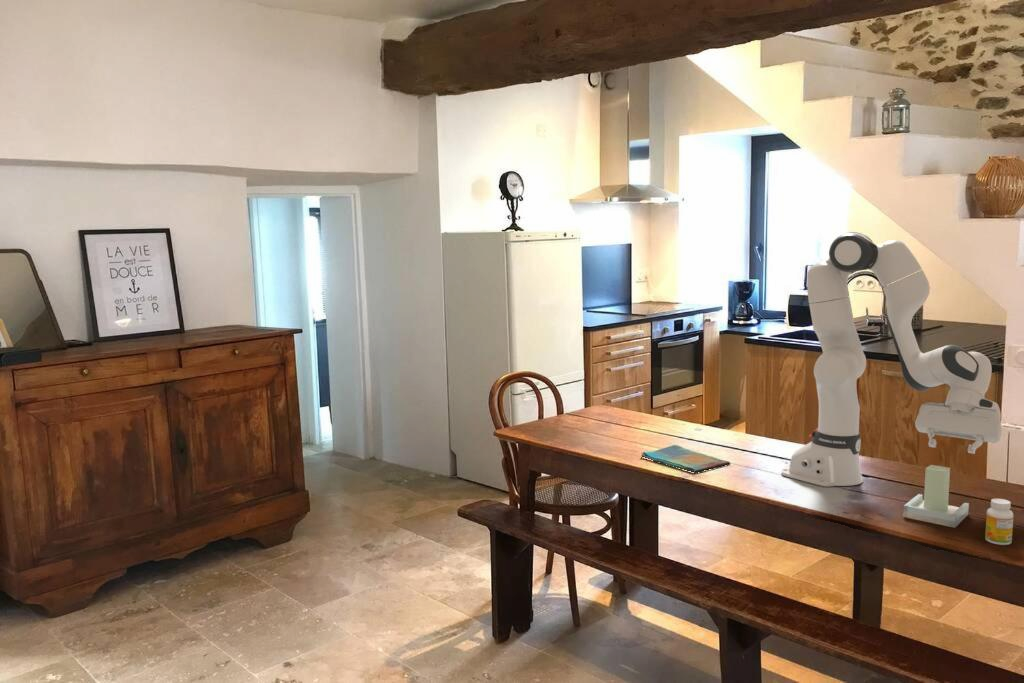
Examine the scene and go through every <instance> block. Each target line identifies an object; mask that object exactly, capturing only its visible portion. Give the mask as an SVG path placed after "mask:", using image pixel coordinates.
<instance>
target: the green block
mask: <svg viewBox="0 0 1024 683" xmlns="http://www.w3.org/2000/svg"><path fill="white" fill-rule="evenodd" d="M924 471H925V474H924V489H923V490H924V493H923V494H924V495H923V500H924V509H930V510H935V511H940V512H946V511H947V510H948V505H949V496H950V495H949V494H950V476H951V475H950V474H951V467H948V466H942V465H934V464H930V465H928V466H927V467H926V468H925V470H924Z"/></svg>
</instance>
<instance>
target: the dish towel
mask: <svg viewBox="0 0 1024 683" xmlns="http://www.w3.org/2000/svg"><path fill="white" fill-rule="evenodd" d="M641 456H642V457H645V458H648V459H651V460H653V461H656V462H660V463H663V464H662V465H664V464H667V465H670V466H674V467H677V468H680V469H684V470H687V471H691V472H694V473H697V474H699V473H698V472H701V473H703V472H702V471H704V470H709V469H712V470H715V469H714V468H716V469H719V467H720V468H723V467H722V466H724V467H726V466H725V465H727V466H730V465H729V464H731V462H730V461H728V460H723V459H720V458H717V457H714V456H712V455H707V454H705V453H701V452H697V451H693V450H691V449H687V448H685V447H682V446H680V445H678V444H672V445H669V446H667V447H664V448H659V449H657V450H654V451H653V450H652V451H643V452H642V453H641ZM656 462H655V463H656ZM660 463H659V464H660ZM667 465H666V466H667ZM670 466H669V467H670ZM677 468H676V469H677ZM680 469H679V470H680ZM709 471H710V470H709Z"/></svg>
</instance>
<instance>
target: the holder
mask: <svg viewBox="0 0 1024 683" xmlns="http://www.w3.org/2000/svg"><path fill="white" fill-rule="evenodd" d="M923 497H924V495H923V494H920V493H918V494H917V495H916V496H915V495H914V497H912V499H910V500H909V501H908V502H906V503H905V504H904V505H903V513H902V514H903V516H902V517H903V518H907V519H911V520H916V521H921V522H926V523H931V524H935V525H941V526H943V527H944V526H945V527H950V528H954V529H955V528H956V527H958V525H960V524H961V523H962V522H963V520H964V519H966V517H968V515H969V507H970V503H969V502H964V503H962V505H960V506H959V507H958V506H956V505H955V506H954V505H949V504H948V510H947V511H946V512H940V511H935V510H930V509H924V499H923Z"/></svg>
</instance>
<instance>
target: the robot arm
mask: <svg viewBox="0 0 1024 683" xmlns="http://www.w3.org/2000/svg"><path fill="white" fill-rule="evenodd" d="M828 257H829V258H828V259H826V260H824V261H821V262H817V263H816V264H814V265H812V266H811V267H810V268H809V269H808V272H807V274H806V275H807V278H806V280H807V281H806V286H807V287H806V288H807V298H808V305H809V311H810V317H811V322H812V327H813V331H814V333H815V334H816V337H817V338H818V341H819V344H820V348H821V350H822V354H821V355H820V356H819V357H818V358H817V360H816V362H815V363H814V367H813V375H814V379H815V387H816V392H817V399H818V421H817V422H818V424H817V426H818V427H816V428H815V429H814V430H813V431H811V433H809V438H811V441H810V442H808V443H806V444H805V445H803V446H801V447H800V448H799V449H797V450H796V451H794V453H793V454H792V455H791V457H790V462H789V464H788V465H786V466H785V467H783V468H782V469H781V476H784V477H787V478H792V479H794V480H800V481H802V482H806V483H810V484H813V485H818V486H821V487H827V488H828V487H835V486H836V487H838V486H839V487H840V486H841V487H847V486H849V487H850V486H855V485H856V486H857V485H860V484H862V483H863V482H864V479H863V476H862V471H861V464H860V451H861V443H862V442H861V433H860V415H861V414H860V413H861V411H860V409H861V408H860V404H859V403H860V402H859V398H858V390H857V387H858V386H857V380H858V379H860V378H861V376H863V374H864V372H865V370H866V367H867V359H866V354H865V353H864V351H863V350H864V349H863V346H862V343H861V340H860V337H859V333H858V331H857V329H856V325H855V320H854V314H853V308H852V303H851V298H850V297H851V296H850V293H849V292H850V291H849V284H848V280H849V277H850V275H853V274H854V273H856V272H860V271H866V270H869V271H871V272H872V273H873V274H874V275H875V276H876V278H877V279H878V282H879V284H880V286H881V288H882V290H883V292H884V295H885V299H886V308H885V311H884V312H885V319H886V323H887V326H888V328H889V332H890V335H891V338H892V341H893V344H894V347H895V349H896V353H897V355H898V358H899V362H900V368H901V373H902V377H903V380H904V382H906V384H907V385H909V387H911V388H912V389H914V390H916V391H919V392H926V391H929V390H931V389H933V388H936V387H939V386H941V385H945V384H946V385H948V386H949V390H948V392H947V393H948V394H947V396H946V400H945V402H944V403H941V402H933V401H928V402H925V403H922V404H921V405H920V407H919V410H918V414H917V417H916V419H915V421H914V425H915V428H916V430H917V431H918V433H923V434H927V437H928V439H929V440H928V443H927V444H928V447H930V448H936V447H937V439H936V438H934V437H935V435H936V436H944V437H950V438H958V439H964V440H972V441H975V442H973V443H972V444H970V443H969V444H968V445H967V446H968V447H967V453H968V454H974V455H975V454H976V451H977V449H978V448H980V447H981V446H982V445H983V443H992V444H996V443H998V442H999V441H1000V440H1001V439H1002V438H1001V436H1002V428H1003V427H1002V422H1001V420H1002V419H1001V417H1002V413H1001V409H1000V406H999V404H998V403H997V402H995V401H992V400H990V399H988V398H985V395H986V393H987V391H988V390H989V387H990V383H991V379H992V371H993V369H992V367H993V366H992V363H991V361H990V360H991V359H989V357H988V356H986V355H985V354H983V353H981V352H978V351H974V350H973V351H967V350H965V349H964V348H963V347H961V346H959V345H956V344H948V345H944V346H941V347H938V348H935V349H932V350H931V351H927V352H922V351H921V350H920V347H919V345H918V342H917V341H918V340H917V338H916V336H915V332H914V330H913V327H912V326H913V325H912V320H913V317H914V316H915V314H916V313H917V312H918V311H919V310H920V308H921V307H922V306H923V305H924V304H925V302H926V301H927V299H928V297H929V294H930V291H931V290H930V289H931V287H930V283H929V282H930V281H929V280H928V277H927V275H926V273H925V272H924V270H923V268H922V266H921V264H920V263H919V261H918V260H917V258H916V256H915V255H914V253H912V251H911V250H910V249H909V247H908V246H907V245H906V244H905V243H904V242H903V241H902V240H898V239H892V240H890V239H889V240H887V241H884V242H882V243H877V244H876V243H874V242H873V240H872V239H871V238H870V237H869V236H867V235H866V234H863V233H861V232H857V231H850V232H846V233H844V234H841V235H840V236H838V237H836V238H835V239H834V240H833V241H832V242H831V244H830V246H829V250H828Z"/></svg>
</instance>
